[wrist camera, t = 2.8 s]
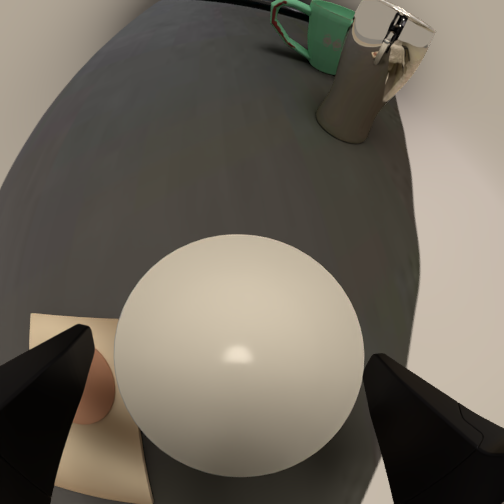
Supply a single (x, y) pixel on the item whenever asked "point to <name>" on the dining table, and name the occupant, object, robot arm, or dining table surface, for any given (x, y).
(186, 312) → the white lidded jar
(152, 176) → the dining table surface
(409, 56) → the beer glass
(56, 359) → the robot arm
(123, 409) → the mat
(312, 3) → the mug
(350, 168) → the dining table surface
